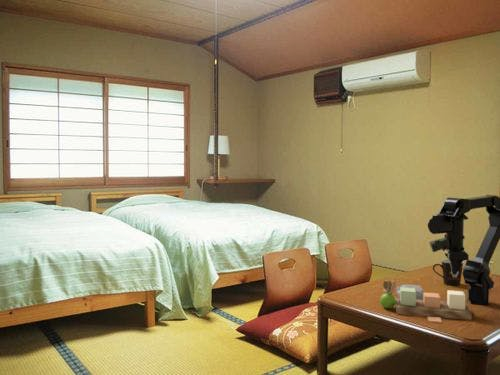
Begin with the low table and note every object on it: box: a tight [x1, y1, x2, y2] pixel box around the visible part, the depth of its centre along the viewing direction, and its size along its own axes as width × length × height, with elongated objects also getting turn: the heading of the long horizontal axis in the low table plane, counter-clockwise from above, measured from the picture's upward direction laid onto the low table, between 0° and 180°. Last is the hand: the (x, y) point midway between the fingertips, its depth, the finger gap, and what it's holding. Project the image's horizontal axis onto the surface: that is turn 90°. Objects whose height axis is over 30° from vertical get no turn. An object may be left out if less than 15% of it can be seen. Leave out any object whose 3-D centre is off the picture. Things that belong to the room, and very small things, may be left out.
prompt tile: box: [427, 316, 443, 324], centre depth 150 cm, size 4×4×1 cm
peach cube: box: [423, 291, 441, 308], centre depth 158 cm, size 5×5×5 cm
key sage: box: [400, 287, 416, 306], centre depth 160 cm, size 5×5×5 cm
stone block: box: [396, 283, 425, 300], centre depth 178 cm, size 12×5×10 cm
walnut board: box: [394, 297, 473, 321], centre depth 159 cm, size 24×11×2 cm, turn 74°
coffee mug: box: [432, 258, 464, 287], centre depth 195 cm, size 12×9×10 cm
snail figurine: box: [379, 277, 397, 309], centre depth 162 cm, size 5×6×12 cm
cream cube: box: [446, 289, 466, 310], centre depth 156 cm, size 5×5×5 cm
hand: (454, 274), depth 163 cm, fingers closed
